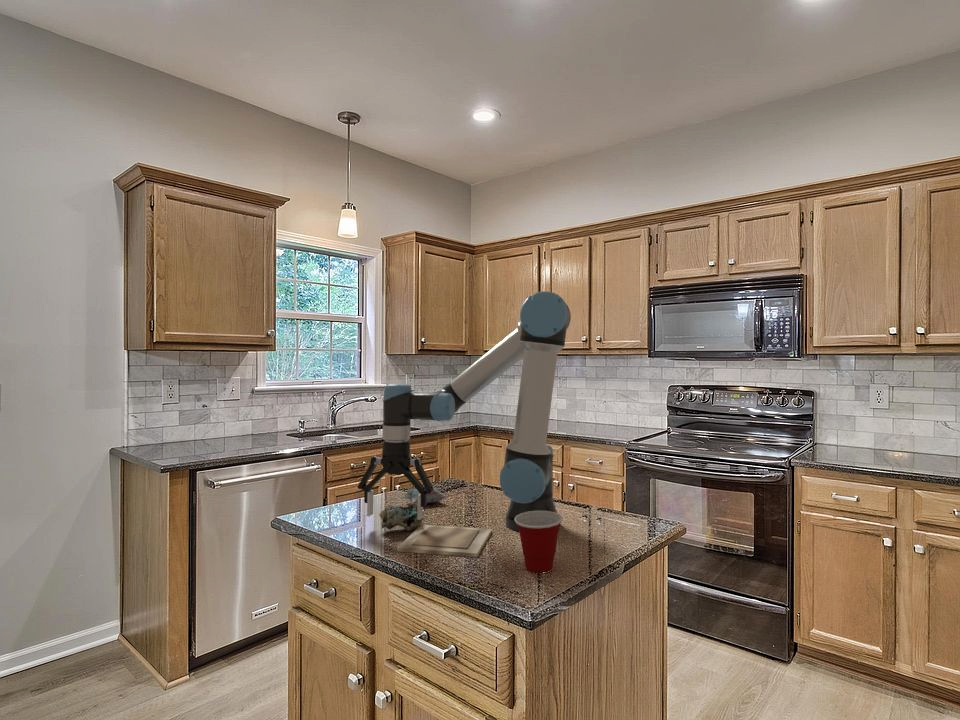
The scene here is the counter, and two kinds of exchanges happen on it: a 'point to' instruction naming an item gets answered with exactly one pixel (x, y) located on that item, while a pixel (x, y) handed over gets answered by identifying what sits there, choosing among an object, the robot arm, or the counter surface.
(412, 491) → the packaged food
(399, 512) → the mineral specimen
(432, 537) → the base plate
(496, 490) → the counter surface
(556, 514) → the plastic cup
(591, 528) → the counter surface
